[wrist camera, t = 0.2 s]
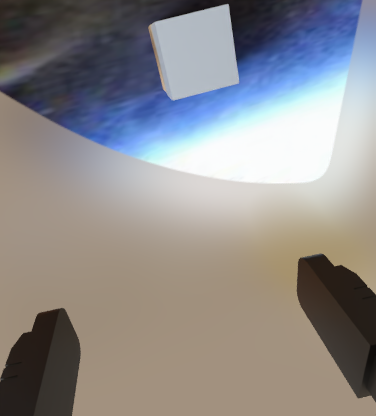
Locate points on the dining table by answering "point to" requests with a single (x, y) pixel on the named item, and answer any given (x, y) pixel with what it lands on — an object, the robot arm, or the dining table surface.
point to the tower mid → (196, 52)
